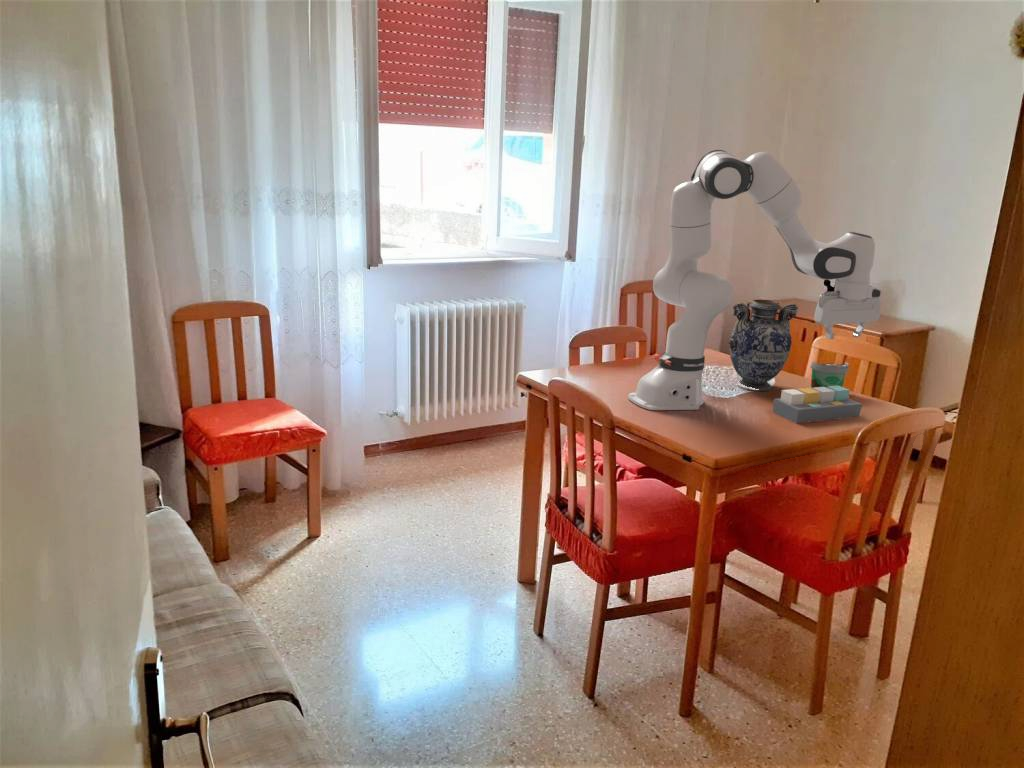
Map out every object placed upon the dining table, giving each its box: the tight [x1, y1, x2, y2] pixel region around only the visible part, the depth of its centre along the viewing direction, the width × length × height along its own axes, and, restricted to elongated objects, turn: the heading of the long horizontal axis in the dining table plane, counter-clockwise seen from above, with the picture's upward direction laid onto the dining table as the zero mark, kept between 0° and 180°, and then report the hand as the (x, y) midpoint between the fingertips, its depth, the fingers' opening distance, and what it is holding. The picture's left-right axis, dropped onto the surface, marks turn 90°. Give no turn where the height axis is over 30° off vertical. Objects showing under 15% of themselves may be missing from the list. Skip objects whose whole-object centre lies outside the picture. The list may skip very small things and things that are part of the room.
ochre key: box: [796, 387, 820, 404], centre depth 217 cm, size 4×4×4 cm
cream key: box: [780, 388, 805, 405], centre depth 215 cm, size 4×4×4 cm
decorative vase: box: [728, 299, 799, 392], centre depth 239 cm, size 21×19×28 cm
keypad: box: [772, 397, 863, 424], centre depth 217 cm, size 23×10×4 cm, turn 111°
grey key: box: [812, 387, 835, 402], centre depth 219 cm, size 4×4×4 cm
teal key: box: [827, 385, 851, 401], centre depth 221 cm, size 4×4×4 cm
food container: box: [810, 361, 850, 389], centre depth 236 cm, size 12×6×10 cm, turn 99°
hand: (843, 337), depth 216 cm, fingers open, 8 cm apart
